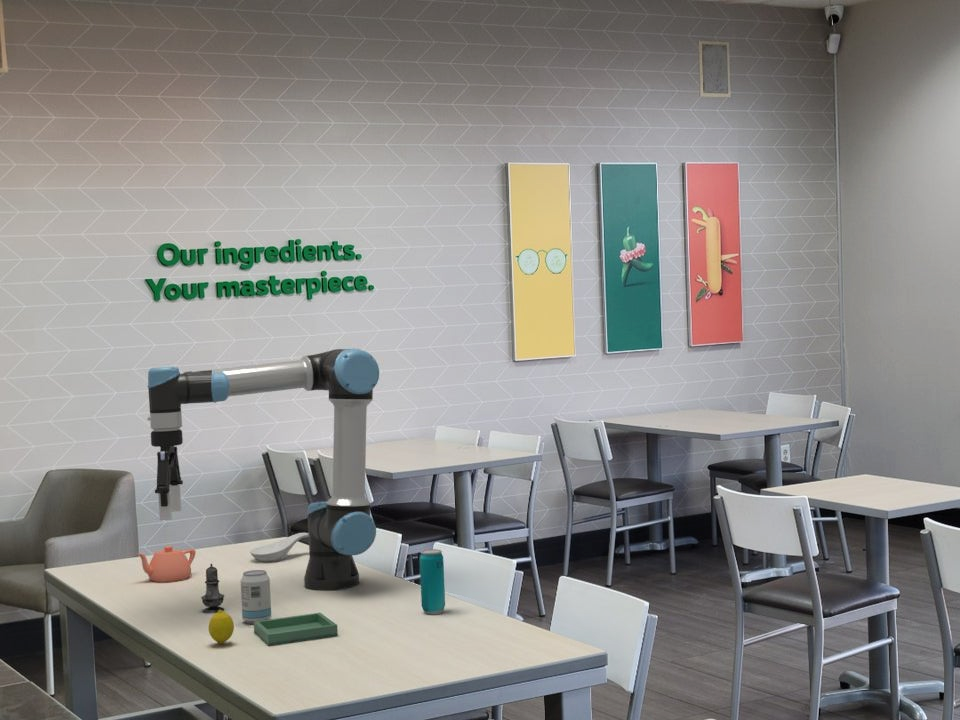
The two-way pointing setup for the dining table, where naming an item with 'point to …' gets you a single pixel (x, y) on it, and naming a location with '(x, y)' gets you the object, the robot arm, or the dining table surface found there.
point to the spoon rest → (276, 549)
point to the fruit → (221, 627)
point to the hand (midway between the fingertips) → (170, 515)
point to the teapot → (168, 564)
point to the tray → (295, 629)
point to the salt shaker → (212, 592)
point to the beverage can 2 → (432, 581)
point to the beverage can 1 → (255, 596)
